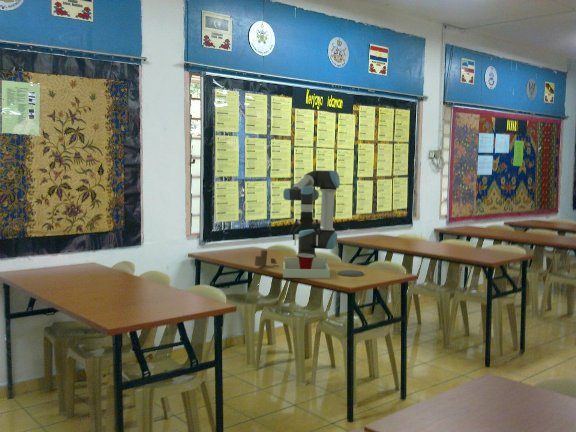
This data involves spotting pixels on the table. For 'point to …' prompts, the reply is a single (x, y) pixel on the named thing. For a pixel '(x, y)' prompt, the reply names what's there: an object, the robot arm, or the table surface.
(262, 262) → the wooden block set
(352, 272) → the saucer
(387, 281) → the table surface
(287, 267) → the light grey tray
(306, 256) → the plastic cup
